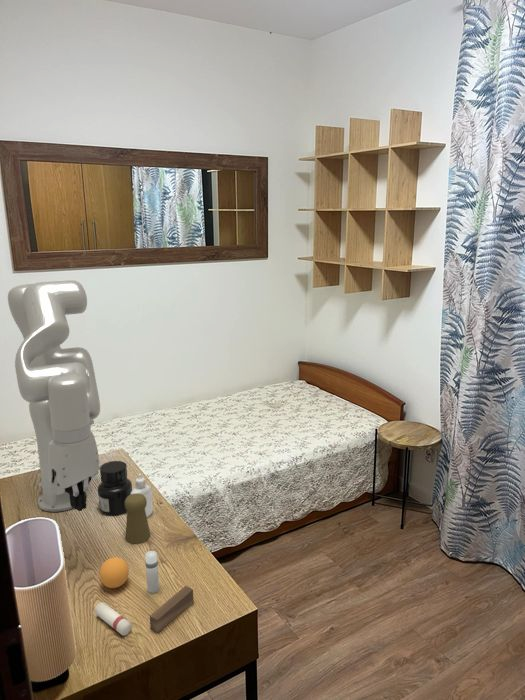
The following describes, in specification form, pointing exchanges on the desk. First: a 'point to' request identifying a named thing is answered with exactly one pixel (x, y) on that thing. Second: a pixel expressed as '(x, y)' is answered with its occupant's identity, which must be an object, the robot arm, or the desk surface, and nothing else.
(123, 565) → the ball
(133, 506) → the olive pawn
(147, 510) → the eye dropper bottle
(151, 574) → the rear pin
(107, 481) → the ink bottle
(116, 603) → the desk surface
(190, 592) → the rail
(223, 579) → the desk surface
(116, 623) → the front pin
